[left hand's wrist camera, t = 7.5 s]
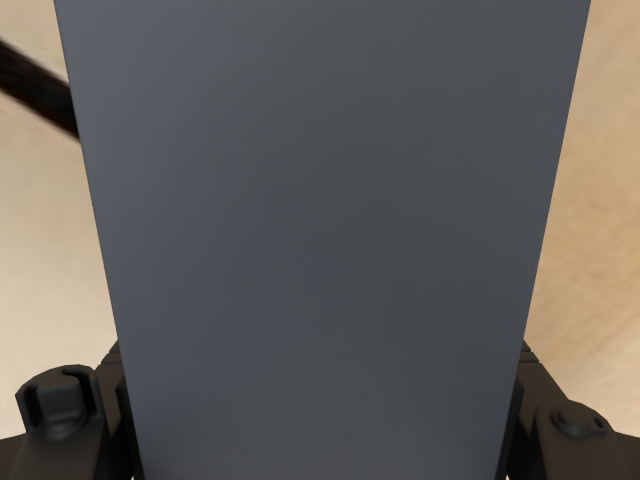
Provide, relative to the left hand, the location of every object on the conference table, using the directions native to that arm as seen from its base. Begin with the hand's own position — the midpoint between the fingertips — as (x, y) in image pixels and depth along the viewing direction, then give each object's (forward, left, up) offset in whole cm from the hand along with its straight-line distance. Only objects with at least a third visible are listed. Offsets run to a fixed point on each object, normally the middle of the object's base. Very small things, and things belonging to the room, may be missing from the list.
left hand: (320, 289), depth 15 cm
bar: (+11, +33, 0) cm, 35 cm away
